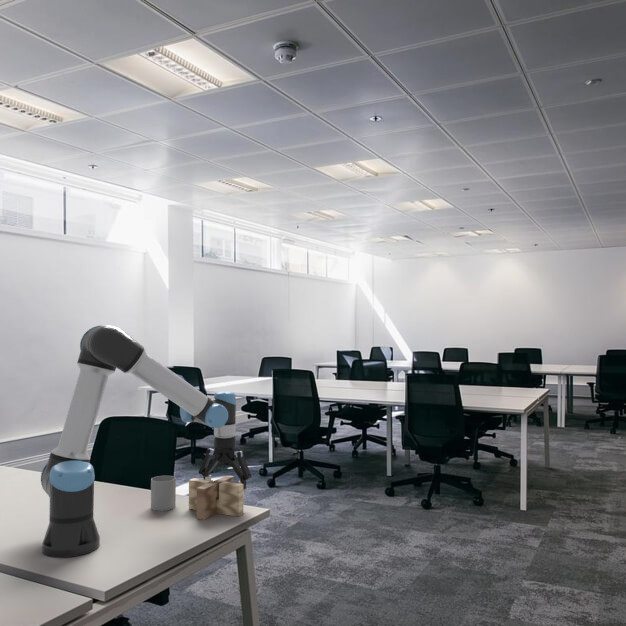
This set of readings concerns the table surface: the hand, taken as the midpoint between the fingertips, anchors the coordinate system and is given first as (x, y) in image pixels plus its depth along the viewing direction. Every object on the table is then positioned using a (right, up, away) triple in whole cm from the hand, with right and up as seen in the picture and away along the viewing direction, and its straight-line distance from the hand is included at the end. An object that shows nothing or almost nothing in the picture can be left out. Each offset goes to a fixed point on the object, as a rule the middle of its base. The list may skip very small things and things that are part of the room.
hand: (224, 497), depth 207 cm
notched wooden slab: (-2, -3, -5) cm, 7 cm away
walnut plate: (-2, -3, -5) cm, 7 cm away
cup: (-21, -4, 0) cm, 22 cm away
